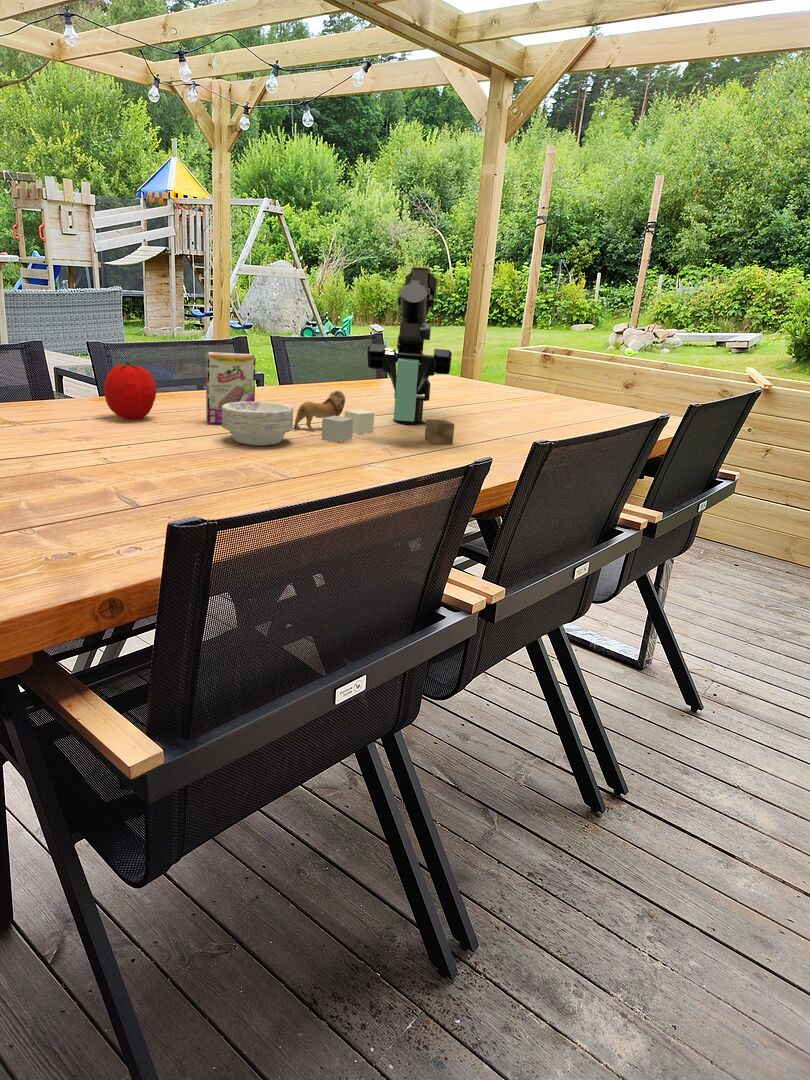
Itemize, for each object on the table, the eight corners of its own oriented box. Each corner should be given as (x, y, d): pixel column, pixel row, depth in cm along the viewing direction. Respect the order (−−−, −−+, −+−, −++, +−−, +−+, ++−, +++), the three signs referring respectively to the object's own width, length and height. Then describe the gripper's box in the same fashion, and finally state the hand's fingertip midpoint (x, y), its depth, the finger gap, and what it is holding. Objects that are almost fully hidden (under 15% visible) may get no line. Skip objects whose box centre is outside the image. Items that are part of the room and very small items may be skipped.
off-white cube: (358, 429, 190) (359, 409, 188) (373, 433, 186) (374, 412, 185) (343, 431, 186) (344, 410, 184) (358, 435, 183) (359, 414, 181)
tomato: (102, 423, 174) (98, 364, 170) (108, 413, 185) (105, 357, 181) (156, 424, 177) (153, 366, 173) (159, 414, 188) (157, 359, 184)
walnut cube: (443, 440, 185) (445, 419, 183) (452, 444, 180) (454, 423, 179) (424, 440, 183) (426, 419, 181) (432, 445, 178) (434, 423, 177)
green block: (394, 416, 175) (398, 358, 170) (414, 417, 175) (419, 359, 170) (393, 419, 171) (397, 360, 166) (413, 421, 170) (418, 362, 166)
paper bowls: (250, 431, 178) (250, 397, 175) (305, 441, 172) (306, 406, 169) (207, 441, 165) (206, 404, 162) (265, 453, 159) (265, 415, 156)
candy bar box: (207, 425, 181) (206, 354, 175) (206, 421, 185) (205, 351, 180) (255, 425, 184) (256, 355, 179) (252, 421, 189) (253, 353, 183)
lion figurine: (336, 424, 193) (337, 388, 190) (349, 428, 189) (350, 392, 186) (286, 429, 183) (287, 391, 180) (299, 433, 179) (300, 395, 176)
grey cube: (333, 436, 179) (334, 415, 177) (351, 440, 177) (352, 418, 175) (321, 440, 175) (322, 418, 173) (340, 443, 173) (341, 421, 171)
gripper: (370, 306, 169) (362, 362, 162) (455, 312, 168) (450, 369, 162) (371, 339, 179) (364, 394, 172) (451, 346, 178) (447, 401, 172)
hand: (406, 389), depth 169 cm, fingers closed on green block, 4 cm apart
